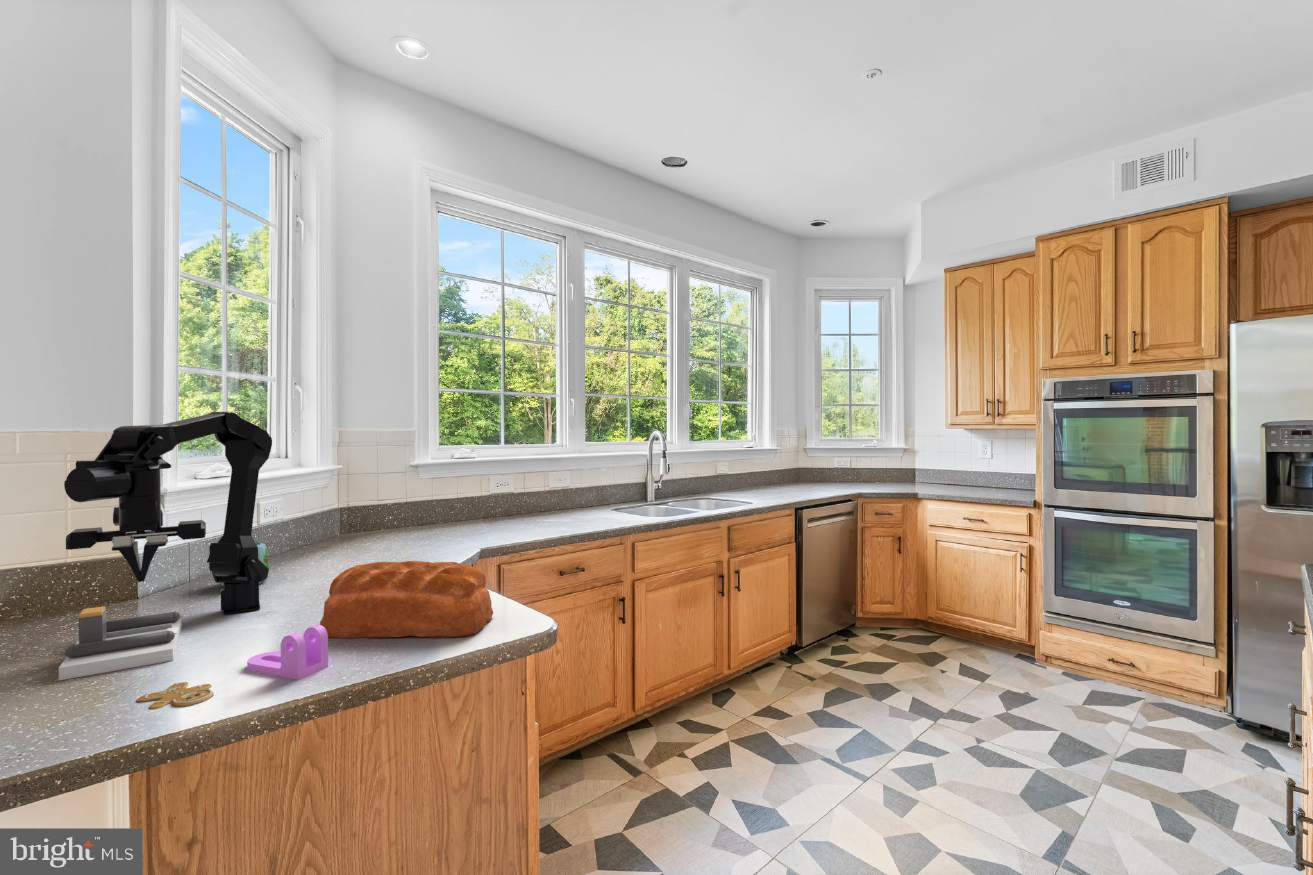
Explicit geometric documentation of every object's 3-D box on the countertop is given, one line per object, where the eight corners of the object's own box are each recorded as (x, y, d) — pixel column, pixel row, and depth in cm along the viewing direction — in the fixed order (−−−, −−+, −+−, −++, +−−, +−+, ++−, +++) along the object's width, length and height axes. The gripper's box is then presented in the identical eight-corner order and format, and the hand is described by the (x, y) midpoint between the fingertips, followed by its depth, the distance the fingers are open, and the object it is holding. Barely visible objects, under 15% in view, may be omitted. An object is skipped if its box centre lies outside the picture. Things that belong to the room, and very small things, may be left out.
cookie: (187, 676, 94) (232, 685, 91) (187, 682, 94) (232, 691, 91) (126, 699, 86) (172, 709, 83) (126, 705, 86) (172, 716, 83)
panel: (181, 625, 120) (181, 605, 120) (173, 660, 102) (172, 637, 102) (86, 639, 112) (86, 618, 112) (58, 680, 94) (58, 655, 94)
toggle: (106, 637, 107) (106, 606, 107) (102, 643, 104) (102, 611, 103) (83, 640, 105) (83, 608, 105) (78, 647, 102) (78, 614, 102)
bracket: (328, 667, 100) (327, 625, 99) (298, 680, 94) (298, 636, 94) (270, 657, 104) (270, 617, 104) (239, 669, 98) (238, 628, 98)
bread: (475, 640, 112) (474, 571, 112) (309, 640, 112) (308, 570, 112) (497, 614, 128) (497, 553, 128) (351, 613, 128) (351, 553, 128)
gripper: (206, 488, 120) (207, 565, 120) (78, 494, 109) (79, 579, 109) (204, 493, 110) (205, 577, 111) (64, 500, 100) (65, 593, 100)
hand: (141, 581), depth 108 cm, fingers closed
